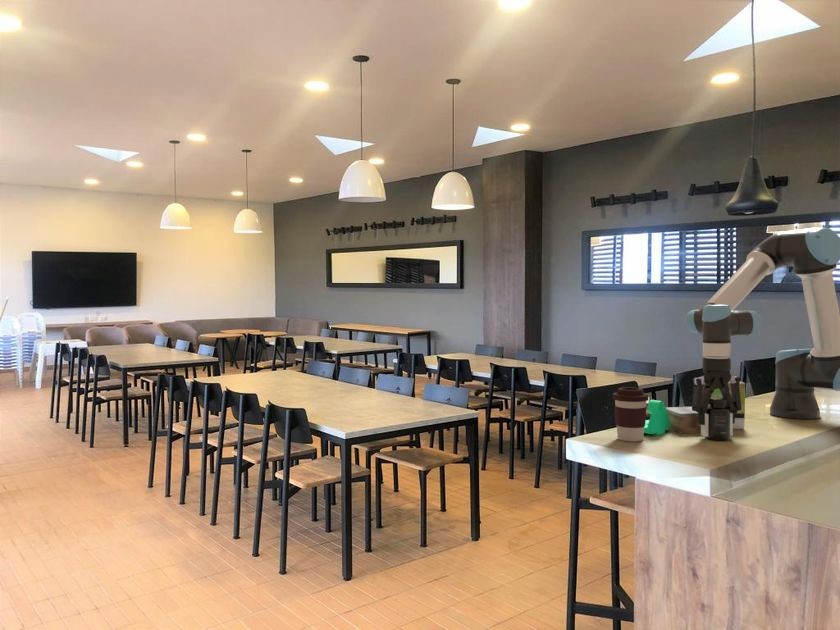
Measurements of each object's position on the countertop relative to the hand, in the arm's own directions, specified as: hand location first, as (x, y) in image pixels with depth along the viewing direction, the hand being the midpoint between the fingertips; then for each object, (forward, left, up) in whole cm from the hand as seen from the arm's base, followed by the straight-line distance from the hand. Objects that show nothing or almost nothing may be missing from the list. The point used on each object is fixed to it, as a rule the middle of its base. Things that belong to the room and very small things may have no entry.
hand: (716, 435), depth 190 cm
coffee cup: (+25, -3, -1) cm, 25 cm away
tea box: (-14, -19, -1) cm, 24 cm away
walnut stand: (+1, -14, -1) cm, 14 cm away
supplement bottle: (0, 0, -1) cm, 1 cm away
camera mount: (+15, -12, -1) cm, 19 cm away
